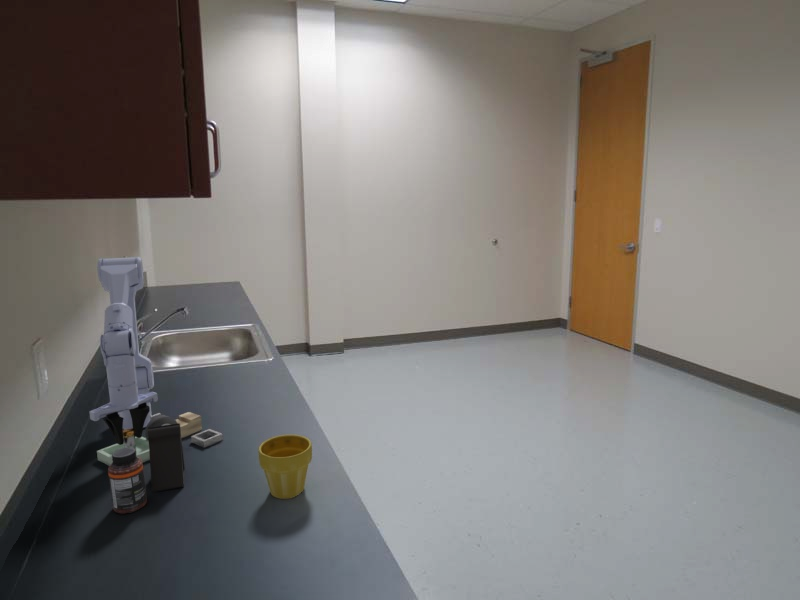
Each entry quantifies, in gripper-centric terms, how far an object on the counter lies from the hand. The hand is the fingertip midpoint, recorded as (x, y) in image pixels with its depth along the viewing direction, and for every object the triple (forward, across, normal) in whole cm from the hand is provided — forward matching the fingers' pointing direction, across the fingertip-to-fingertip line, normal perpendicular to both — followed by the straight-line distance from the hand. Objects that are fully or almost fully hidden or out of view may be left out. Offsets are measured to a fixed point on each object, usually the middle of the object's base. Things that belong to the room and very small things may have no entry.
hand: (129, 440), depth 123 cm
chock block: (+4, +15, +2) cm, 16 cm away
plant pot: (+4, +10, -41) cm, 42 cm away
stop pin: (+4, 0, 0) cm, 4 cm away
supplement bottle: (+4, -11, -20) cm, 23 cm away
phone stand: (+4, -1, -17) cm, 18 cm away
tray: (+4, 0, 0) cm, 4 cm away
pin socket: (+4, +15, -8) cm, 17 cm away
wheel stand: (+4, +8, 0) cm, 9 cm away
